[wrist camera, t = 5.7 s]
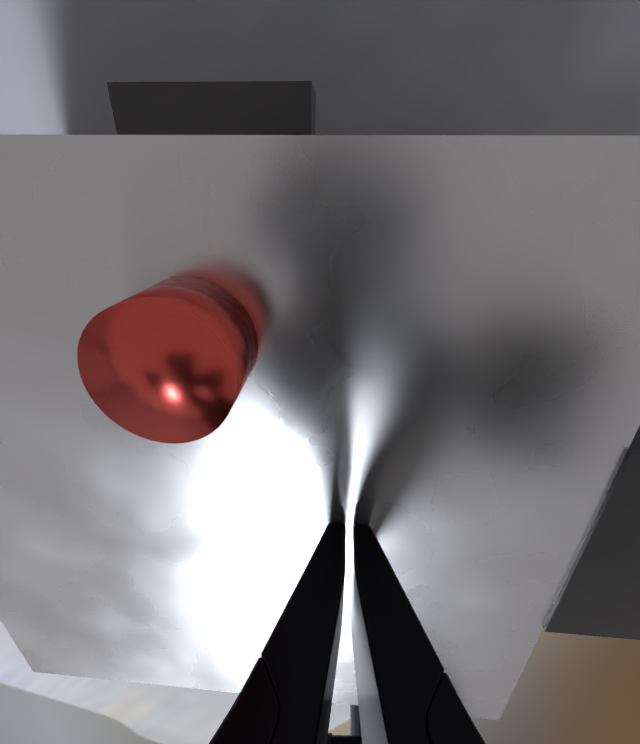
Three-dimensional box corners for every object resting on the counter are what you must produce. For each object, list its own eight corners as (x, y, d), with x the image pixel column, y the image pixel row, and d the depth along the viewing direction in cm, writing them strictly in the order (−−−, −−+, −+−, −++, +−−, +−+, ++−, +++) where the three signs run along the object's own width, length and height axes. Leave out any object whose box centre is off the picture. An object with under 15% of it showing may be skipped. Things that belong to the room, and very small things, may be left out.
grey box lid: (575, 689, 13) (624, 802, 11) (55, 638, 15) (-4, 728, 12) (914, 144, 6) (1314, 115, 3) (-216, 141, 7) (-510, 119, 5)
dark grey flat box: (426, 517, 21) (465, 684, 14) (155, 502, 22) (64, 651, 15) (500, 130, 13) (688, 63, 6) (59, 129, 14) (-248, 70, 7)
